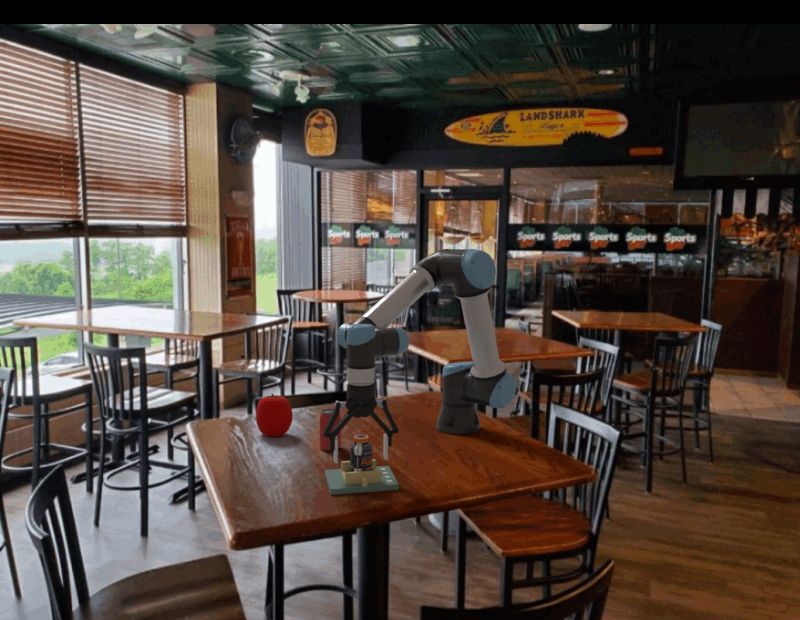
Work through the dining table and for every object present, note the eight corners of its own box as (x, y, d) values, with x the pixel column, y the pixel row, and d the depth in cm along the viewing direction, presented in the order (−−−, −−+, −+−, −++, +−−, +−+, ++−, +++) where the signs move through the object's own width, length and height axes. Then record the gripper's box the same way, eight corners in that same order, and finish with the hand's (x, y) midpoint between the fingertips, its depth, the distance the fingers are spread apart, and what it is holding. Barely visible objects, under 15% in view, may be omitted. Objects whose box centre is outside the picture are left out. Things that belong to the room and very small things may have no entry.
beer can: (337, 452, 199) (337, 414, 198) (317, 450, 200) (316, 412, 199) (343, 445, 206) (343, 408, 204) (323, 444, 207) (323, 407, 205)
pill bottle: (363, 482, 171) (363, 441, 169) (345, 478, 174) (345, 437, 172) (376, 475, 176) (376, 435, 174) (358, 471, 179) (358, 431, 177)
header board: (388, 470, 184) (388, 455, 183) (398, 489, 170) (399, 473, 169) (324, 475, 180) (324, 459, 179) (330, 494, 166) (330, 478, 166)
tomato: (248, 437, 213) (247, 395, 211) (267, 428, 223) (267, 388, 222) (281, 442, 208) (280, 399, 207) (299, 432, 219) (299, 391, 217)
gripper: (403, 377, 178) (403, 452, 180) (312, 381, 173) (313, 458, 175) (409, 383, 171) (409, 461, 173) (315, 387, 166) (315, 467, 168)
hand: (360, 460), depth 174 cm, fingers open, 13 cm apart
